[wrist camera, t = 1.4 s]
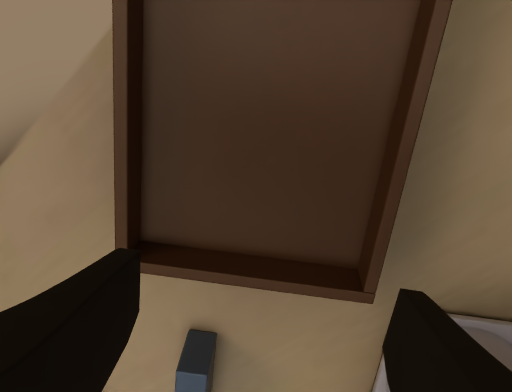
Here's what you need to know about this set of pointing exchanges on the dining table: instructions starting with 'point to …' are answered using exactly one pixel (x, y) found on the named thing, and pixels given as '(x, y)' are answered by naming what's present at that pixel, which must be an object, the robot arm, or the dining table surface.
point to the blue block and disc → (196, 362)
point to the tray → (268, 136)
